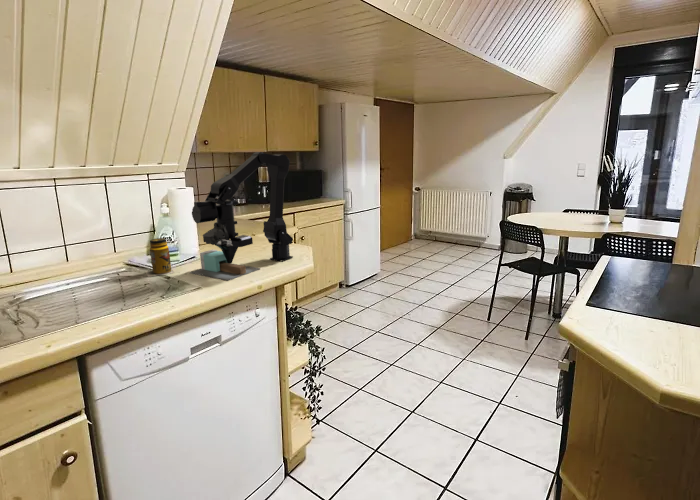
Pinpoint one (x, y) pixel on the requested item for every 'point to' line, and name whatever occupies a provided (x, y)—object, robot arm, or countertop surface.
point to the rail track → (224, 269)
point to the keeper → (214, 261)
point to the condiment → (159, 257)
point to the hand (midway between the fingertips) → (229, 263)
